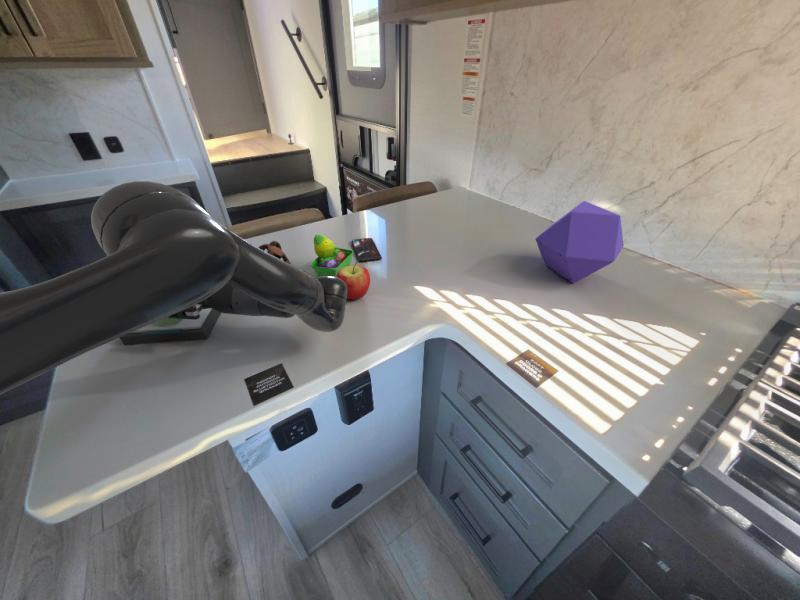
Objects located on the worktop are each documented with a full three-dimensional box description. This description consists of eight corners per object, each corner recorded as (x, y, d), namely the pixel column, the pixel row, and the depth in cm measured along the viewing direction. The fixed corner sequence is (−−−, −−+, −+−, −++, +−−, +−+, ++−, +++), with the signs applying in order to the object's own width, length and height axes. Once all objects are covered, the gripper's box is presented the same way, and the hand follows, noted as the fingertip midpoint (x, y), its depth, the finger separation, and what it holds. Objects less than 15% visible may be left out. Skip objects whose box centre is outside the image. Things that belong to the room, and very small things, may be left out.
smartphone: (359, 260, 94) (351, 239, 105) (359, 262, 94) (351, 241, 106) (382, 257, 96) (372, 237, 107) (382, 259, 96) (372, 239, 108)
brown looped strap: (291, 276, 88) (270, 257, 82) (265, 288, 91) (242, 270, 85) (296, 248, 96) (277, 228, 90) (271, 259, 98) (251, 241, 92)
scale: (207, 339, 66) (202, 329, 65) (124, 345, 65) (117, 334, 63) (230, 296, 79) (227, 286, 78) (161, 299, 78) (157, 290, 76)
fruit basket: (337, 286, 84) (332, 247, 77) (308, 280, 86) (301, 242, 80) (355, 266, 93) (353, 230, 86) (328, 261, 95) (324, 225, 88)
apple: (376, 299, 79) (375, 264, 73) (344, 309, 76) (340, 273, 70) (363, 283, 85) (361, 250, 79) (333, 292, 82) (328, 257, 76)
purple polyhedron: (606, 300, 87) (661, 235, 79) (564, 287, 78) (620, 212, 69) (550, 262, 105) (590, 205, 96) (510, 247, 95) (550, 183, 86)
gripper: (258, 261, 65) (186, 255, 67) (217, 301, 54) (131, 293, 55) (267, 291, 70) (198, 285, 71) (230, 334, 58) (150, 325, 60)
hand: (169, 288), depth 63 cm, fingers open, 8 cm apart
